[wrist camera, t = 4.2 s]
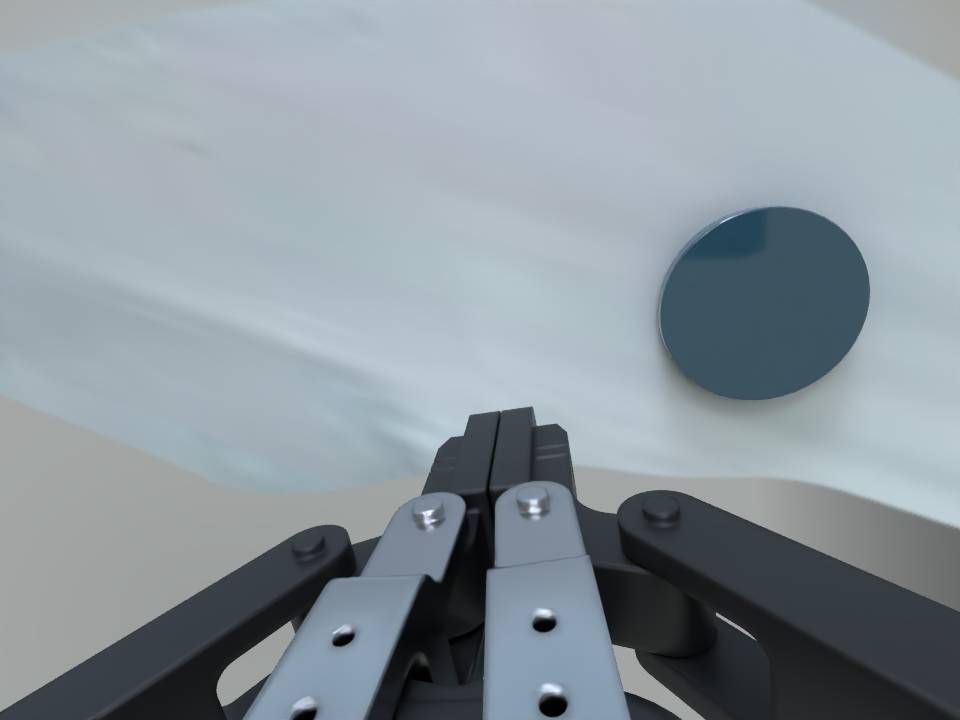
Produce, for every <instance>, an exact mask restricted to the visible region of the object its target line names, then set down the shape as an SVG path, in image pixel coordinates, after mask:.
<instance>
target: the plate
mask: <svg viewBox="0 0 960 720" xmlns="http://www.w3.org/2000/svg"><path fill="white" fill-rule="evenodd" d="M869 298H870V285H869V276H868V272H867V268H866V264H865V262H864V259H863V257H862V254H861V252H860V251H859V249H858V247H857V246H856V244H855V243H854V241H853V240H852V239H851V238H850V237H849V236H848V234H847V233H846V232H845V231H844V230H842V229H841V228H840V227H839V226H838V225H836V224H835V223H833V222H832V221H830V220H829V219H827V218H825V217H823V216H821V215H818V214H816V213H814V212H811V211H807V210H803V209H800V208H793V207H784V206H761V207H754V208H749V209H745V210H741V211H738V212H735V213H732V214H730V215H727V216H725V217H723V218H721V219H719V220H717V221H715V222H714V223H712V224H710V225H709V226H707V227H706V228H704V229H703V230H702V231H700V232H699V233H698V234H697V235H696V236H694V237H693V238H692V239H691V240H690V241H689V242H688V243H687V244H686V245H685V246H684V248H683V249H682V250H681V251H680V252H679V254H678V255H677V257H676V258H675V260H674V261H673V262H672V264H671V266H670V268H669V270H668V272H667V274H666V276H665V279H664V282H663V284H662V287H661V292H660V296H659V303H658V324H659V329H660V334H661V337H662V340H663V343H664V346H665V347H666V349H667V351H668V353H669V355H670V357H671V358H672V359H673V361H674V362H675V364H676V365H677V366H678V368H679V369H680V370H681V371H682V372H683V373H684V374H685V375H686V376H687V377H688V378H689V379H691V380H692V381H693V382H694V383H696V384H697V385H699V386H701V387H702V388H704V389H706V390H708V391H710V392H713V393H715V394H717V395H721V396H725V397H728V398H734V399H741V400H762V399H770V398H775V397H780V396H784V395H787V394H790V393H793V392H796V391H798V390H800V389H802V388H805V387H807V386H809V385H810V384H812V383H814V382H815V381H817V380H819V379H820V378H821V377H823V376H824V375H826V374H827V373H828V372H830V371H831V370H832V369H833V368H834V367H835V366H836V365H837V364H838V363H839V362H840V361H841V360H842V359H843V358H844V356H845V355H846V354H847V353H848V352H849V350H850V349H851V347H852V346H853V344H854V343H855V341H856V340H857V338H858V336H859V334H860V332H861V330H862V327H863V324H864V322H865V319H866V316H867V311H868V306H869Z"/></svg>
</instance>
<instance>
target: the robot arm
mask: <svg viewBox="0 0 960 720" xmlns="http://www.w3.org/2000/svg"><path fill="white" fill-rule="evenodd" d="M716 612H717V613H719V614H720V615H722V616H724V617H725V618H727V619H728V620H730V621H732V622H733V623H735V624H737V625H738V626H740V627H741V628H743V629H744V630H746V631H747V632H748V633H749V634H751V635H752V636H753V637H754V638H755V639H756V640H757V641H756V640H754V639H752V638H751V637H749V636H747V635H746V634H744V633H743V632H741V631H740V630H738V629H736V628H735V627H733V626H732V625H730V624H728V623H727V622H725V621H723V620H722V619H720V618H718V617H717V616H716ZM290 620H291V623H292V625H293V628H294V631H295V636H294V638H293V639H292V641H291V642H290V644H289V646H288V647H287V649H286V650H285V652H284V654H283V655H282V657H281V659H280V660H279V662H278V663H277V665H276V667H275V668H274V670H273V671H272V673H271V674H269V675H268V676H267V677H265V678H264V679H263V680H261V681H260V682H259V683H257V684H256V685H255V686H253V687H252V688H251V689H249V690H248V691H247V692H246V693H244V694H243V695H242V696H240V697H239V698H238V699H236V700H235V701H234V702H232V703H230V704H229V705H226V706H223V707H222V706H221V704H220V701H219V699H218V697H217V692H216V689H217V683H218V680H219V678H220V676H221V674H222V673H223V671H224V670H225V669H226V667H227V666H228V665H229V664H230V663H232V662H233V661H234V660H236V659H237V658H238V657H240V656H241V655H242V654H244V653H245V652H247V651H248V650H250V649H251V648H252V647H254V646H255V645H257V644H258V643H259V642H261V641H262V640H264V639H265V638H267V637H268V636H269V635H271V634H272V633H273V632H275V631H276V630H278V629H279V628H280V627H282V626H283V625H285V624H286V623H288V622H289V621H290ZM612 644H614V645H618V646H623V647H627V648H632V649H635V653H636V657H637V659H638V661H639V663H640V664H641V666H642V667H643V668H644V669H645V670H646V671H647V672H648V673H649V674H650V675H652V676H653V677H654V678H655V679H656V680H658V681H659V682H660V683H661V684H663V685H664V686H665V687H666V688H668V689H669V690H670V691H671V692H673V693H674V694H675V695H676V696H677V697H679V698H680V699H681V700H682V701H683V702H685V703H686V704H687V705H688V706H690V707H691V708H692V709H693V710H695V711H696V712H697V713H698V714H700V715H701V716H702V717H703V718H704V719H706V720H960V612H959V611H956V610H954V609H952V608H949V607H947V606H945V605H942V604H940V603H938V602H935V601H933V600H930V599H928V598H926V597H924V596H921V595H919V594H917V593H914V592H912V591H910V590H907V589H905V588H903V587H900V586H898V585H896V584H894V583H891V582H889V581H887V580H884V579H882V578H880V577H877V576H875V575H873V574H870V573H868V572H866V571H863V570H861V569H859V568H856V567H854V566H852V565H850V564H847V563H845V562H842V561H840V560H838V559H836V558H833V557H831V556H829V555H826V554H824V553H822V552H819V551H817V550H815V549H812V548H810V547H808V546H805V545H803V544H801V543H799V542H796V541H794V540H792V539H789V538H787V537H785V536H782V535H780V534H778V533H775V532H773V531H771V530H768V529H766V528H764V527H761V526H759V525H757V524H754V523H752V522H750V521H748V520H745V519H743V518H740V517H738V516H736V515H734V514H731V513H729V512H727V511H724V510H722V509H720V508H717V507H715V506H712V505H710V504H708V503H706V502H703V501H701V500H699V499H696V498H694V497H692V496H690V495H687V494H684V493H680V492H675V491H668V490H655V491H647V492H643V493H639V494H637V495H634V496H632V497H630V498H628V499H627V500H625V501H624V502H623V503H622V504H621V505H620V507H619V509H618V512H617V514H612V513H604V512H599V511H595V510H592V509H590V508H588V507H586V506H584V505H582V504H581V503H580V502H579V501H578V500H577V494H576V486H575V480H574V474H573V467H572V461H571V455H570V448H569V442H568V436H567V432H566V431H565V430H564V429H562V428H561V427H560V426H559V425H558V424H550V425H543V426H536V420H535V415H534V410H533V407H525V408H518V409H511V410H503V411H502V413H501V412H500V411H496V412H489V413H482V414H474V415H470V416H469V420H468V423H467V426H466V430H465V433H464V436H458V437H451V438H450V439H449V440H448V441H446V442H445V443H444V444H443V445H442V446H441V447H440V448H439V449H438V452H437V454H436V457H435V460H434V463H433V465H432V468H431V473H429V476H428V478H427V481H426V484H425V486H424V489H423V491H422V494H421V496H419V497H417V498H414V499H412V500H410V501H409V502H407V503H405V504H404V505H402V506H401V507H400V508H399V509H398V510H397V511H396V512H395V514H394V515H393V517H392V519H391V521H390V523H389V524H388V526H387V528H386V530H385V531H384V534H383V535H382V536H379V537H376V538H373V539H369V540H366V541H363V542H360V543H356V544H353V545H351V541H350V538H349V535H348V532H347V531H346V529H344V528H343V527H340V526H337V525H322V526H316V527H313V528H309V529H307V530H304V531H302V532H299V533H297V534H295V535H294V536H292V537H290V538H288V539H287V540H285V541H283V542H282V543H280V544H278V545H277V546H275V547H273V548H272V549H270V550H268V551H267V552H265V553H263V554H262V555H260V556H259V557H257V558H255V559H254V560H252V561H250V562H249V563H247V564H245V565H244V566H242V567H240V568H239V569H237V570H235V571H234V572H232V573H230V574H229V575H227V576H225V577H224V578H222V579H220V580H219V581H217V582H215V583H214V584H212V585H210V586H209V587H207V588H205V589H204V590H202V591H200V592H199V593H197V594H195V595H194V596H192V597H191V598H189V599H187V600H185V601H184V602H182V603H180V604H179V605H177V606H176V607H174V608H172V609H171V610H169V611H167V612H166V613H164V614H162V615H161V616H159V617H158V618H156V619H154V620H152V621H151V622H149V623H147V624H146V625H144V626H142V627H141V628H139V629H137V630H136V631H134V632H132V633H131V634H129V635H127V636H126V637H124V638H122V639H121V640H119V641H117V642H116V643H114V644H112V645H111V646H109V647H107V648H106V649H104V650H103V651H101V652H99V653H97V654H96V655H94V656H92V657H91V658H89V659H88V660H86V661H85V662H83V663H81V664H79V665H78V666H76V667H74V668H73V669H71V670H69V671H68V672H66V673H64V674H63V675H61V676H59V677H58V678H56V679H54V680H53V681H51V682H49V683H48V684H46V685H44V686H43V687H41V688H39V689H38V690H36V691H34V692H33V693H31V694H29V695H28V696H26V697H24V698H23V699H21V700H19V701H18V702H16V703H14V704H13V705H11V706H10V707H8V708H6V709H5V710H3V711H1V712H0V720H682V719H680V718H679V717H678V716H676V715H675V714H673V713H672V712H670V711H668V710H666V709H665V708H663V707H661V706H659V705H657V704H656V703H654V702H651V701H649V700H647V699H644V698H642V697H639V696H637V695H634V694H631V693H628V692H624V691H623V687H622V684H621V679H620V675H619V671H618V667H617V663H616V659H615V655H614V651H613V647H612ZM483 677H484V679H483Z"/></svg>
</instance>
